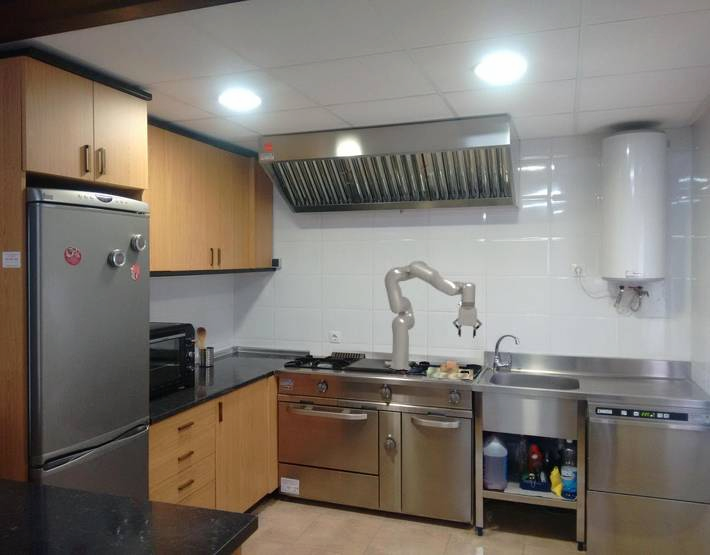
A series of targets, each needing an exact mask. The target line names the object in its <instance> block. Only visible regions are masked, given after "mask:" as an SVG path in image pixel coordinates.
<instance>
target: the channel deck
mask: <svg viewBox="0 0 710 555" xmlns="http://www.w3.org/2000/svg"><path fill="white" fill-rule="evenodd" d="M459 367H460V366H459V364H456V368H447V363H441V364H440V367H433V366H429V367H428V368H427V371H426V378H431V379H432V378H433V379H434V378H435V379H437V378H438V379H448V380H449V379H450V380H461V379H469V380H468V381H473V380H474V370H473V369H466V368H464V369H463V368H459ZM461 371H469V374H468V373H460V372H461Z"/></svg>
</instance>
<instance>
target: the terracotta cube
mask: <svg viewBox="0 0 710 555" xmlns="http://www.w3.org/2000/svg"><path fill="white" fill-rule="evenodd" d="M446 364H447V368H456V365H457V361H453V360H451V361H450V360H447V361H446Z"/></svg>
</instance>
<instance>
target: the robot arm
mask: <svg viewBox="0 0 710 555" xmlns="http://www.w3.org/2000/svg"><path fill="white" fill-rule="evenodd" d="M415 278H417V279H419V280H422V281H423V282H425V283H427V284H429V285H430V286H431V287H433V288H434V289H435V290H437V291H439V292H442V293H443V294H445V295H447V296H449V297H453V296H459V295H461V298H460V302H458V306H460V307H459V309H458V316H457V318H456V319H454V320H453V321H452V324H453V325H454V327H455V328H456V329H457V330H458V331H457V333H458V335H457V336H459V338H461V337H462V329H461V327H462V326H463V327H464V326H465V327H472V328H473V330H472V332H473V333H472V338H473V339H475V337H476V336H477V330H478V329H479V328H480V327H482V325H483V322H481V321H480V320H479V319H478V318H477V317H478V314H477V308H476V284H475V283H474V282H463V281H462V282H461V281H450V280H448V279H446V278H445V277H443V276H442V275H441V274H439V271H438V270H436V269H434V268H432V267H430V266H428V264H427V263H426V262H425V261H422V260H415V261H412V262H410V263H409V264H408V265H405V266H398V267H393V268H390V270H388V271H387V273H386V274H385V276H384V286H385V290H386V294H387V299H388V304H389V309H390V311H391V312H392V314H393V313H394V314H398V316H396V317H394V318H393V319H392V322H391V330H392V356H391V357H392V358H391V359H392V360H390V361H388V360H384V365H386V366H389V369H390V368H393V369H394V368H395V369H405V370H408V371H411V369H412V367H411V366H409V358H410V357H409V353H410V352H409V350H410V335H409V330H412V329H413V328H414V326H415V322H416V321H415V315H414V311H413V307H412V303H411V301H410V299H409V298H408V297H406V296H403V294H402V289H401V286H400V282H406V281H410V280H412V279H415Z"/></svg>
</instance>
